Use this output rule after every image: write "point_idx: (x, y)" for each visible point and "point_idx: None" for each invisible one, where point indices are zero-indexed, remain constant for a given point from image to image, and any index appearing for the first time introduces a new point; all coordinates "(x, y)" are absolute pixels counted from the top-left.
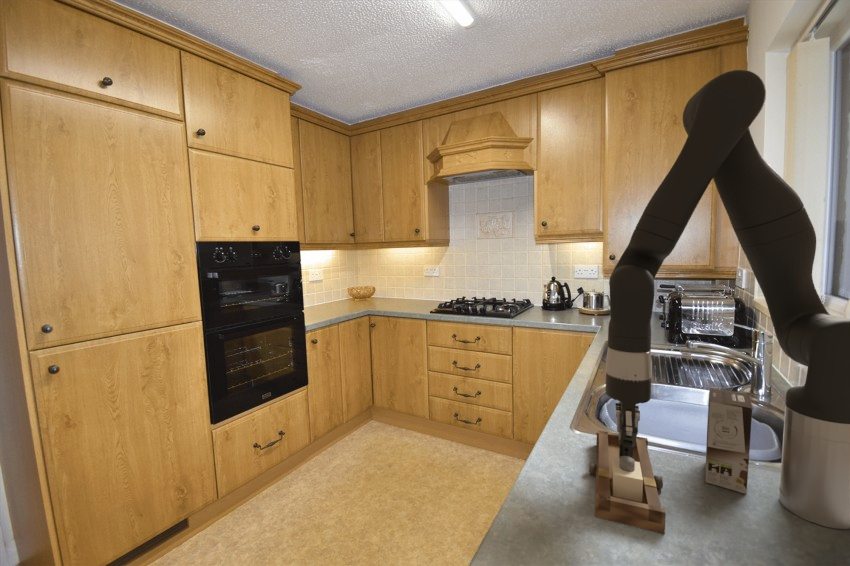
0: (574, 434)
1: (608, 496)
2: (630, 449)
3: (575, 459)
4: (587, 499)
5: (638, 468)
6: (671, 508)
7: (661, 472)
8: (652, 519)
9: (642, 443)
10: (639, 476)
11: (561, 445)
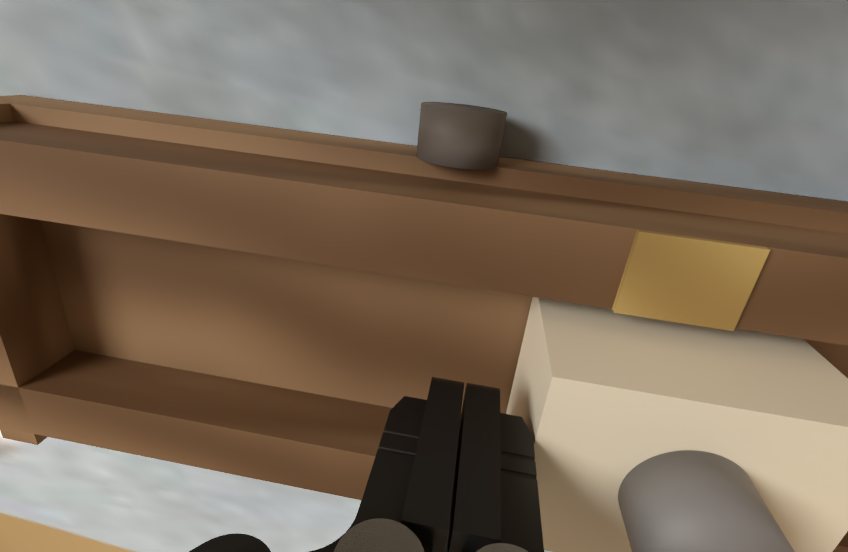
0: (41, 447)
1: None
2: (538, 539)
3: None
4: None
5: (687, 419)
6: (702, 98)
7: (239, 47)
8: None
9: (9, 172)
10: (846, 449)
11: (190, 515)
